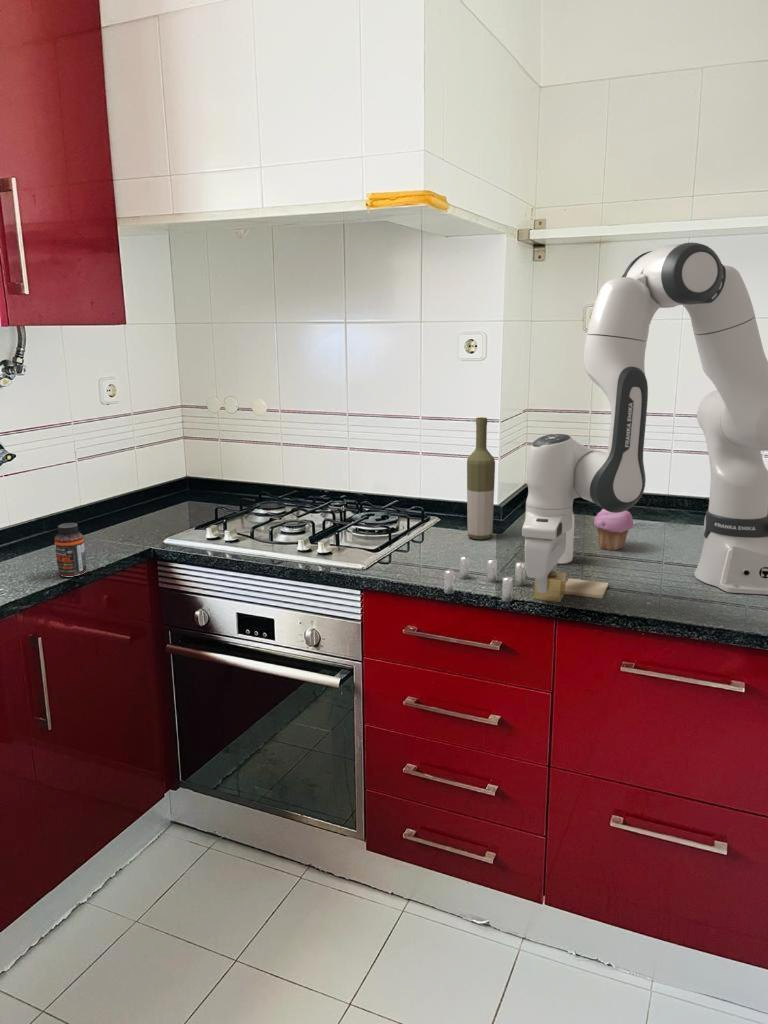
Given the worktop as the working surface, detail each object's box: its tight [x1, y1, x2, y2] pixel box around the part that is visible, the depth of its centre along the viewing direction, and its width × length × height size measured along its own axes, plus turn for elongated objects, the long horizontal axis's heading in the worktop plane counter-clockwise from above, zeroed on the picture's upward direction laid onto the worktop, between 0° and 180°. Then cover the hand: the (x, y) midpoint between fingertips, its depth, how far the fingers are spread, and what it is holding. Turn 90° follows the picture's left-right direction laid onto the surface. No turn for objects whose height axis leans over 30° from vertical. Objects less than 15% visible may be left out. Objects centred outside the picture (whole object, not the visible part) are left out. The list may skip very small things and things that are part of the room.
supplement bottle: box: [54, 522, 87, 576], centre depth 172 cm, size 6×6×11 cm
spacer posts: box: [443, 555, 526, 603], centre depth 160 cm, size 14×12×4 cm
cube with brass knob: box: [533, 571, 567, 603], centre depth 155 cm, size 5×5×5 cm
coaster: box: [565, 577, 609, 599], centre depth 159 cm, size 8×8×1 cm
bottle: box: [466, 416, 496, 540], centre depth 194 cm, size 7×7×30 cm
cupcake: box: [593, 508, 634, 551], centre depth 185 cm, size 9×9×10 cm
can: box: [557, 508, 575, 565], centre depth 176 cm, size 6×6×12 cm
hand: (546, 586), depth 155 cm, fingers closed on cube with brass knob, 5 cm apart
